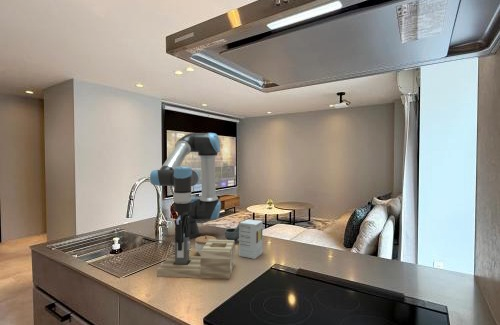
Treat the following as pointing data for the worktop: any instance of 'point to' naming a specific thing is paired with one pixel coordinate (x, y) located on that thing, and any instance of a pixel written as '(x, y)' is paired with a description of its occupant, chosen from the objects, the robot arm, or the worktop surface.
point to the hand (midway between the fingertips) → (182, 255)
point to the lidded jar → (202, 242)
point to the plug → (186, 252)
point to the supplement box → (250, 238)
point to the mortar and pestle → (232, 234)
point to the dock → (204, 262)
